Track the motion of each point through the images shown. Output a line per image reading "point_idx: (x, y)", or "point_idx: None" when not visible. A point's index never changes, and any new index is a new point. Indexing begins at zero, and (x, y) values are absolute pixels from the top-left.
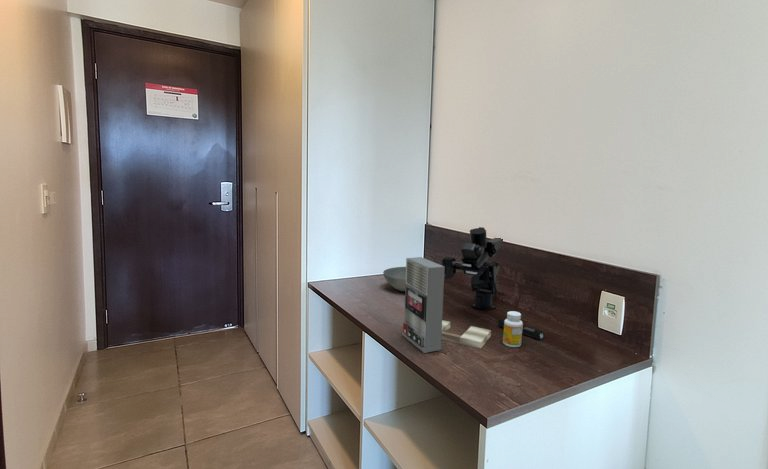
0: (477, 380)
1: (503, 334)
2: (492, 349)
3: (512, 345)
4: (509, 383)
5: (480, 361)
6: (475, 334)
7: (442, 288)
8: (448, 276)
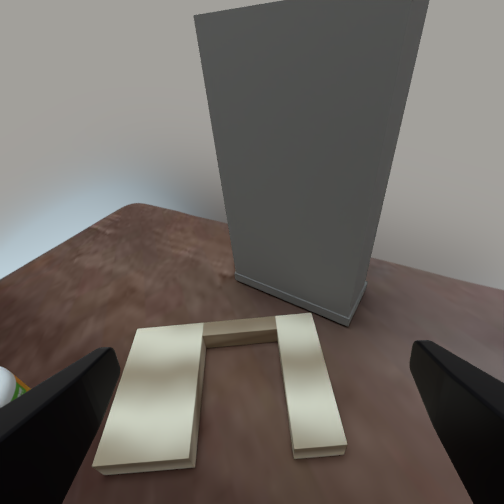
0: (145, 238)
1: None
2: None
3: None
4: (93, 254)
5: (142, 286)
6: (159, 374)
7: (213, 115)
8: (441, 406)
